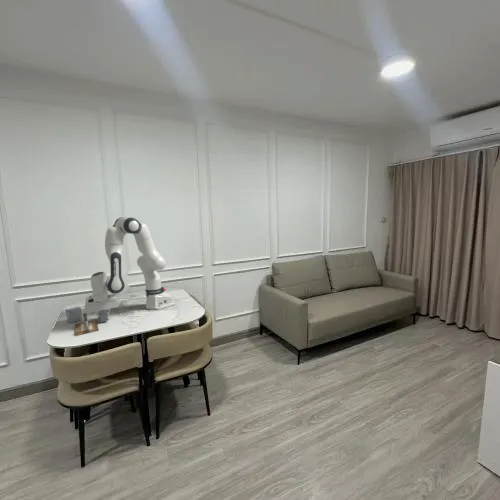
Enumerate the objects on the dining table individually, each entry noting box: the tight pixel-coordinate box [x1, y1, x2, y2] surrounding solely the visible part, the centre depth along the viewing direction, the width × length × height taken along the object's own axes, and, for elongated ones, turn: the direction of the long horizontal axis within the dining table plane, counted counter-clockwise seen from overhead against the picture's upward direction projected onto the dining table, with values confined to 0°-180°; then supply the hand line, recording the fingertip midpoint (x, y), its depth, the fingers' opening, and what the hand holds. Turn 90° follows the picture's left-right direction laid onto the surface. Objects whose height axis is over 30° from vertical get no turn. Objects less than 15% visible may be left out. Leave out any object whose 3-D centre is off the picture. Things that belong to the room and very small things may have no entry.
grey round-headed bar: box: [98, 310, 109, 323], centre depth 189 cm, size 5×12×5 cm, turn 32°
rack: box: [74, 312, 99, 337], centre depth 177 cm, size 12×19×7 cm, turn 32°
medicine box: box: [65, 306, 83, 324], centre depth 190 cm, size 8×4×9 cm, turn 141°
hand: (103, 316), depth 188 cm, fingers closed on grey round-headed bar, 4 cm apart
